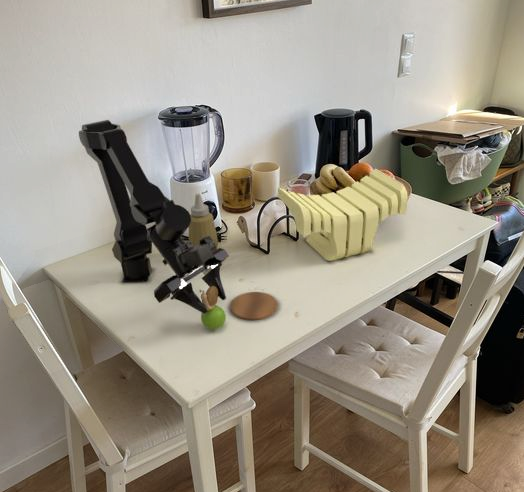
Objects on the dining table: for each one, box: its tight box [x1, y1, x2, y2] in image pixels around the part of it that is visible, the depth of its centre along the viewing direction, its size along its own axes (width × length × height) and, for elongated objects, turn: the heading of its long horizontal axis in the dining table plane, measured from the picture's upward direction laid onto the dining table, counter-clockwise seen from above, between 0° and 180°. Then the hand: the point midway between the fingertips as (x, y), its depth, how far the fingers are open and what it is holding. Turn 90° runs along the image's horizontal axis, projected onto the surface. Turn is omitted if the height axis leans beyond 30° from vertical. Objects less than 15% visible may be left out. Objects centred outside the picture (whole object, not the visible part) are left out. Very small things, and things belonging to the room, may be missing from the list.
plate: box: [230, 291, 278, 321], centre depth 122 cm, size 11×11×1 cm
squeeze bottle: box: [188, 193, 219, 252], centre depth 139 cm, size 8×8×18 cm
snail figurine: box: [199, 286, 227, 330], centre depth 113 cm, size 5×6×12 cm
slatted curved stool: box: [277, 168, 409, 262], centre depth 140 cm, size 30×16×18 cm, turn 112°
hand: (215, 306), depth 112 cm, fingers closed on snail figurine, 6 cm apart
